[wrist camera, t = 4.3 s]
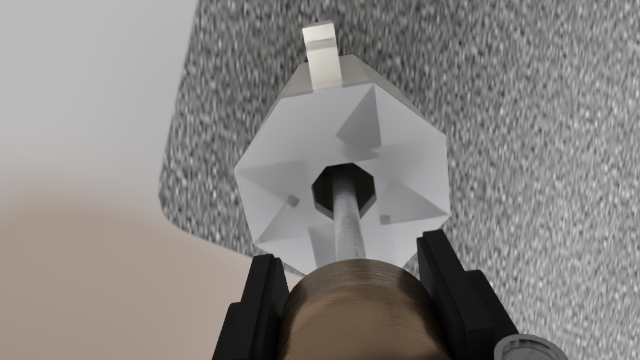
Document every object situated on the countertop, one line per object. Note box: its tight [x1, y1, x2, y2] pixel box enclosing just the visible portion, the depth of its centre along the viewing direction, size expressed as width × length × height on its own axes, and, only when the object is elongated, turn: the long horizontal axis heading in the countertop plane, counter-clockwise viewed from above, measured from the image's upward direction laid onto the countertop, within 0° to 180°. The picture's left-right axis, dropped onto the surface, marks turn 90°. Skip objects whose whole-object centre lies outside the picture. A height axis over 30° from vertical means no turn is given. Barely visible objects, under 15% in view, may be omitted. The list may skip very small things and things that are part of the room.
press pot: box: [233, 20, 450, 275], centre depth 24 cm, size 12×9×13 cm
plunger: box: [275, 163, 454, 360], centre depth 16 cm, size 4×4×17 cm
